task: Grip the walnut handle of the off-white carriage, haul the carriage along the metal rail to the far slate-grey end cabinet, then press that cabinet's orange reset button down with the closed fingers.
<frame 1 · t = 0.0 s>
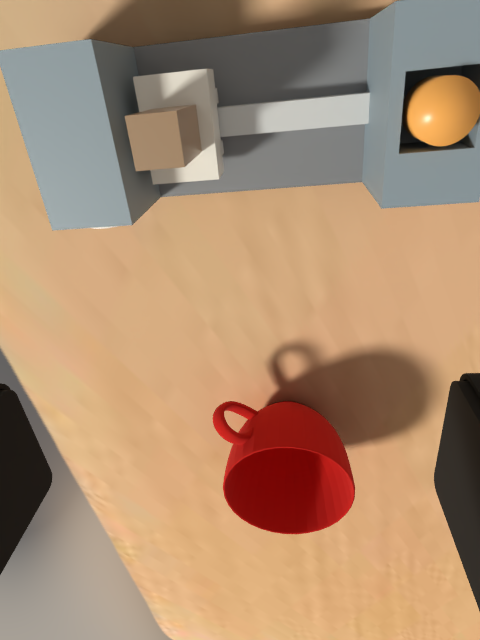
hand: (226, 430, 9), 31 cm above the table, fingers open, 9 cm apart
ceramic cup: (276, 411, 50), on the table
carriage: (174, 132, 29), point 7 cm above the table, slide at -5.0 cm
rail bed: (254, 116, 34), on the table
reset button: (438, 110, 25), point 9 cm above the table, slide at 0.0 cm
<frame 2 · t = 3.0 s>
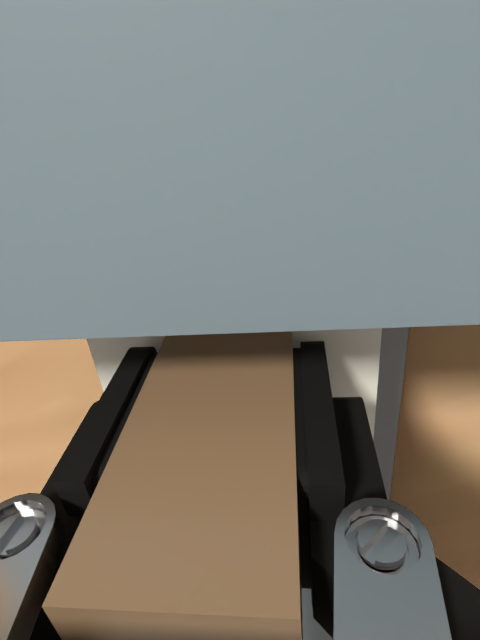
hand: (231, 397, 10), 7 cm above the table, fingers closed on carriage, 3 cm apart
carriage: (229, 411, 10), point 7 cm above the table, slide at -5.0 cm, touching gripper
rail bed: (260, 386, 18), on the table
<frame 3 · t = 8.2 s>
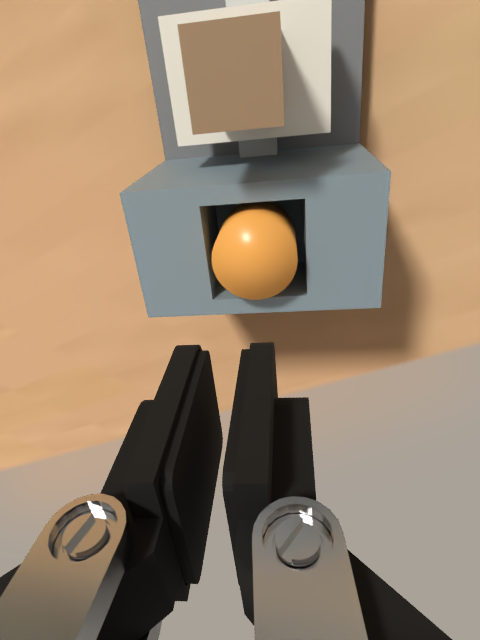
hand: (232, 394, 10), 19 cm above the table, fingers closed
carriage: (245, 76, 17), point 7 cm above the table, slide at 4.8 cm
reset button: (256, 248, 19), point 9 cm above the table, slide at 0.0 cm
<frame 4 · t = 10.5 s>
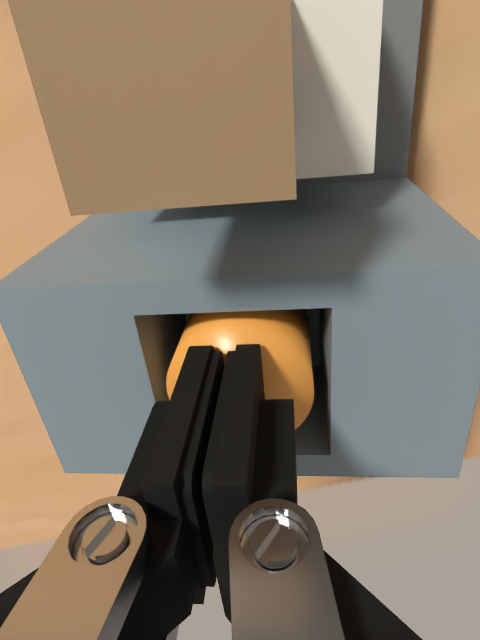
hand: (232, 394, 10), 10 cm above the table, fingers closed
carriage: (219, 74, 9), point 7 cm above the table, slide at 4.8 cm
reset button: (244, 357, 12), point 8 cm above the table, slide at 0.9 cm, touching gripper
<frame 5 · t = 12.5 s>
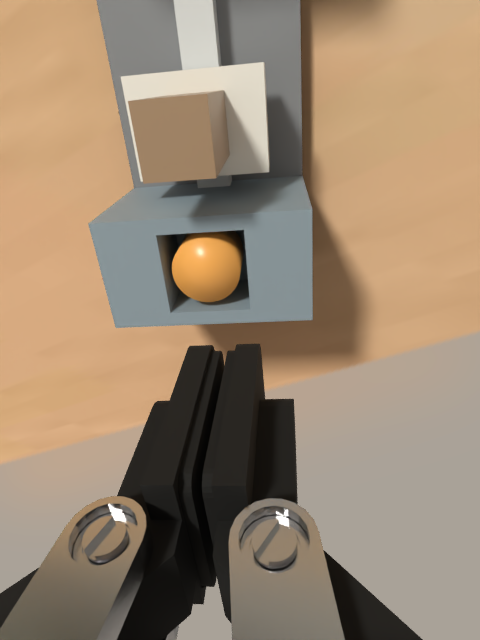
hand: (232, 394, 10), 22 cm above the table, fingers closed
carriage: (194, 128, 21), point 7 cm above the table, slide at 4.8 cm
rail bed: (203, 26, 25), on the table
reset button: (209, 261, 24), point 8 cm above the table, slide at 1.3 cm
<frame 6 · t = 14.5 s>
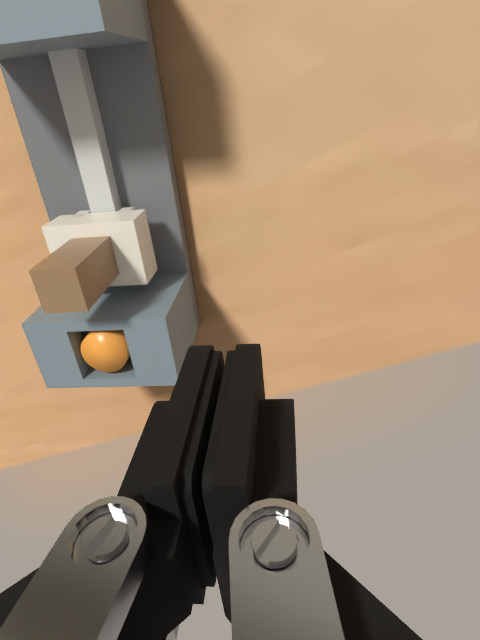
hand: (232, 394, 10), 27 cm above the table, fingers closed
carriage: (90, 261, 31), point 7 cm above the table, slide at 4.8 cm
rail bed: (109, 173, 35), on the table
reset button: (110, 342, 34), point 8 cm above the table, slide at 1.3 cm
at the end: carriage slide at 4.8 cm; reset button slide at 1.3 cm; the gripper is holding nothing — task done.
